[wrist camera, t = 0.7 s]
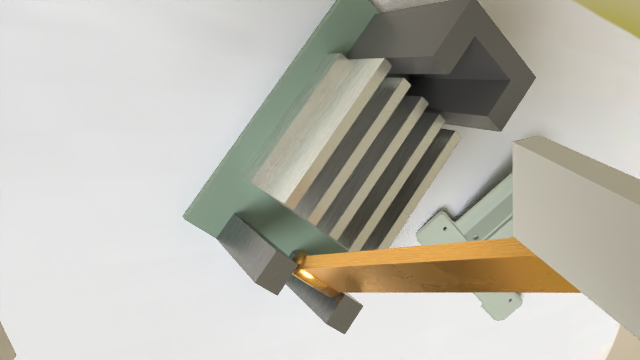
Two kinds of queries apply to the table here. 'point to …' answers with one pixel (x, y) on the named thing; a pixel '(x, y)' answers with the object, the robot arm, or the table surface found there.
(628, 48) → the table surface
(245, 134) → the grey green railed plate
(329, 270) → the strap
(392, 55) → the slotted lug
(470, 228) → the metal bracket
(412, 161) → the heat sink
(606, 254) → the robot arm
